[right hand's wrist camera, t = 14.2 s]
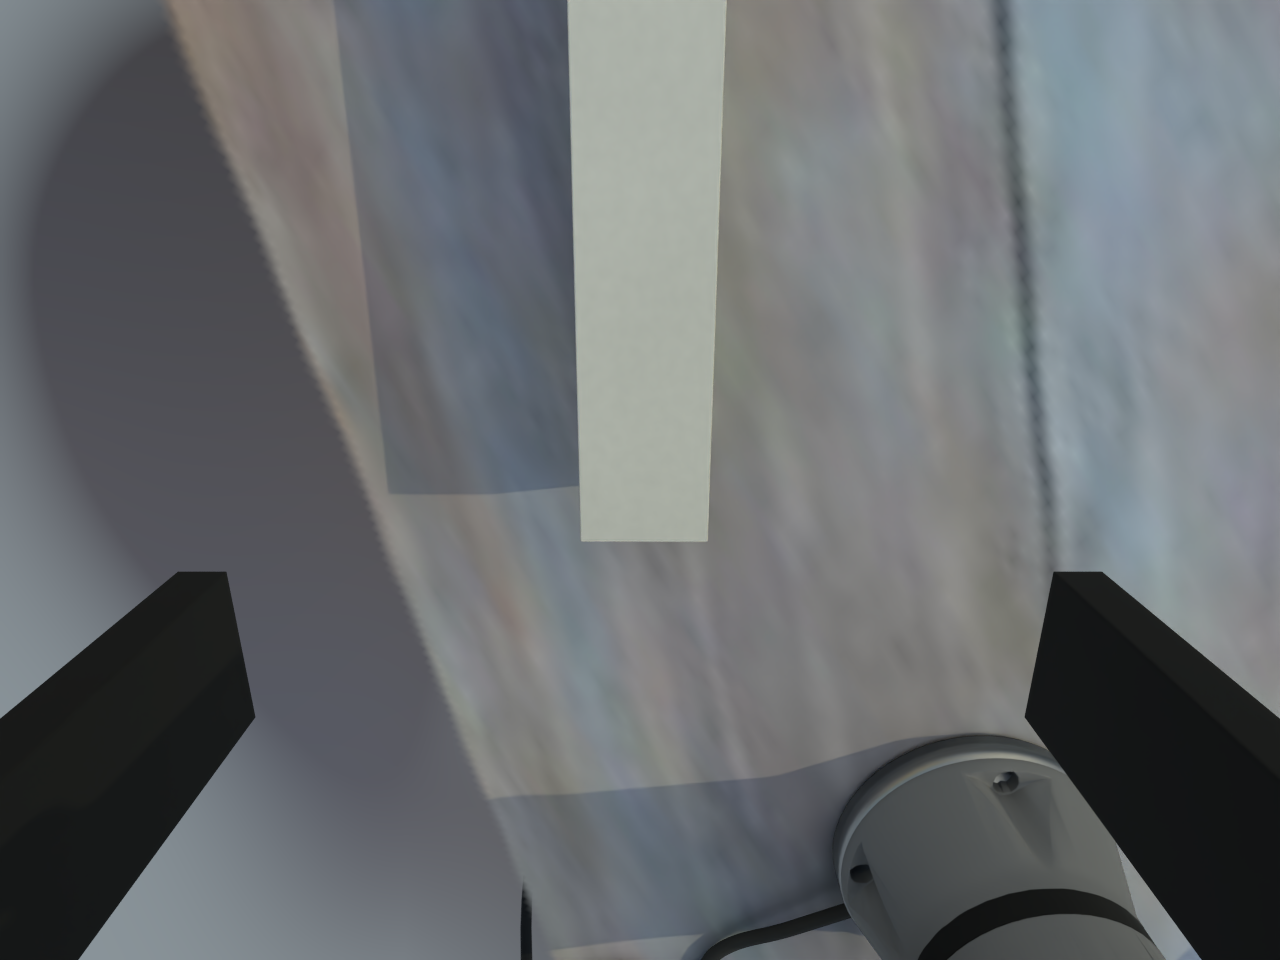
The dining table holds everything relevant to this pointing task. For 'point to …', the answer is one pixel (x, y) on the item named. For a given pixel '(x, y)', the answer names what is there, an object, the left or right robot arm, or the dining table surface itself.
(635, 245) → the bar
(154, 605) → the right robot arm
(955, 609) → the dining table surface
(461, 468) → the dining table surface
